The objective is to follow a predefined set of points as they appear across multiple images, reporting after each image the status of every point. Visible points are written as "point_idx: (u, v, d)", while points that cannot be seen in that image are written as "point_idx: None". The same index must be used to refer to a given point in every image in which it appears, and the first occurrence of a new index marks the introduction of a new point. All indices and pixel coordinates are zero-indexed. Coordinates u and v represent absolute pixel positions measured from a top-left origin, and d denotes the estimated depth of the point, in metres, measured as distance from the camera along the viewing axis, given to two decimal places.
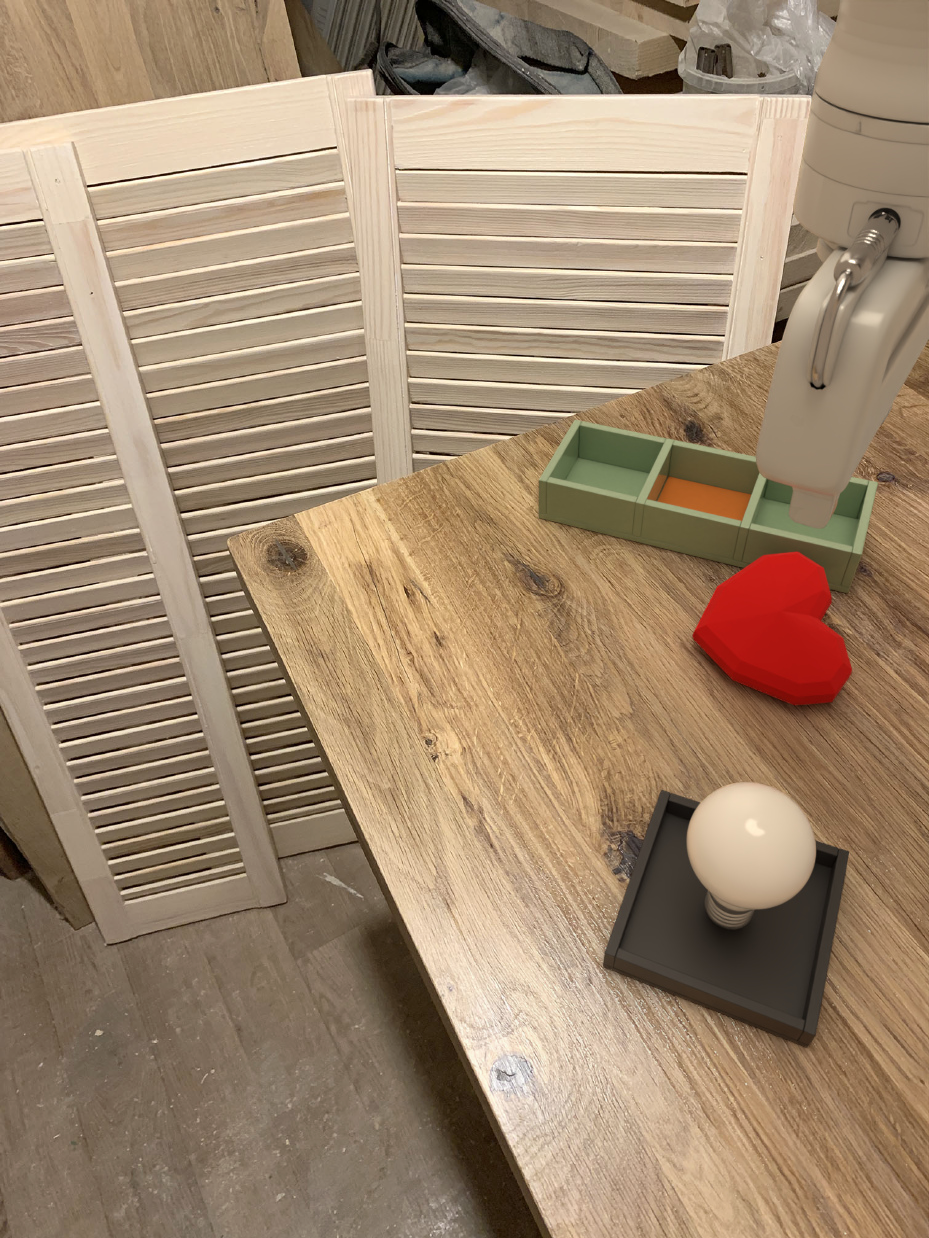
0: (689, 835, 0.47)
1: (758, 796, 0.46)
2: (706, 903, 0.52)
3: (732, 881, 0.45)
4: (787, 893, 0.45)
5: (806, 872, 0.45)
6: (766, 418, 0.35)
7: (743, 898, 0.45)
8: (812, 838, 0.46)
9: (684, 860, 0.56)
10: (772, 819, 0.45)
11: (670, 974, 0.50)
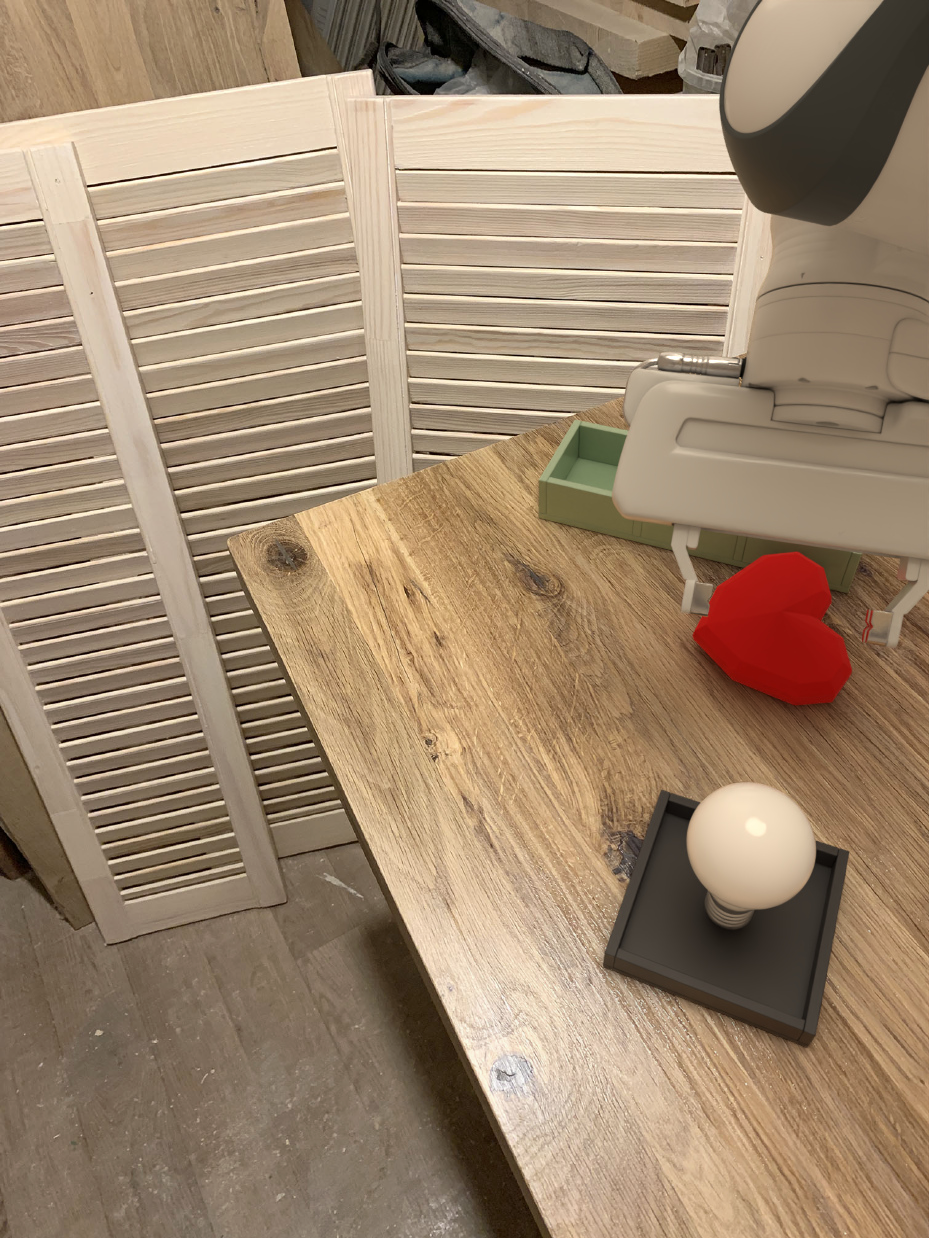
0: (689, 835, 0.47)
1: (758, 796, 0.46)
2: (706, 903, 0.52)
3: (732, 881, 0.45)
4: (786, 893, 0.45)
5: (806, 872, 0.45)
6: None
7: (743, 898, 0.45)
8: (812, 838, 0.46)
9: (684, 860, 0.56)
10: (772, 820, 0.45)
11: (670, 974, 0.50)
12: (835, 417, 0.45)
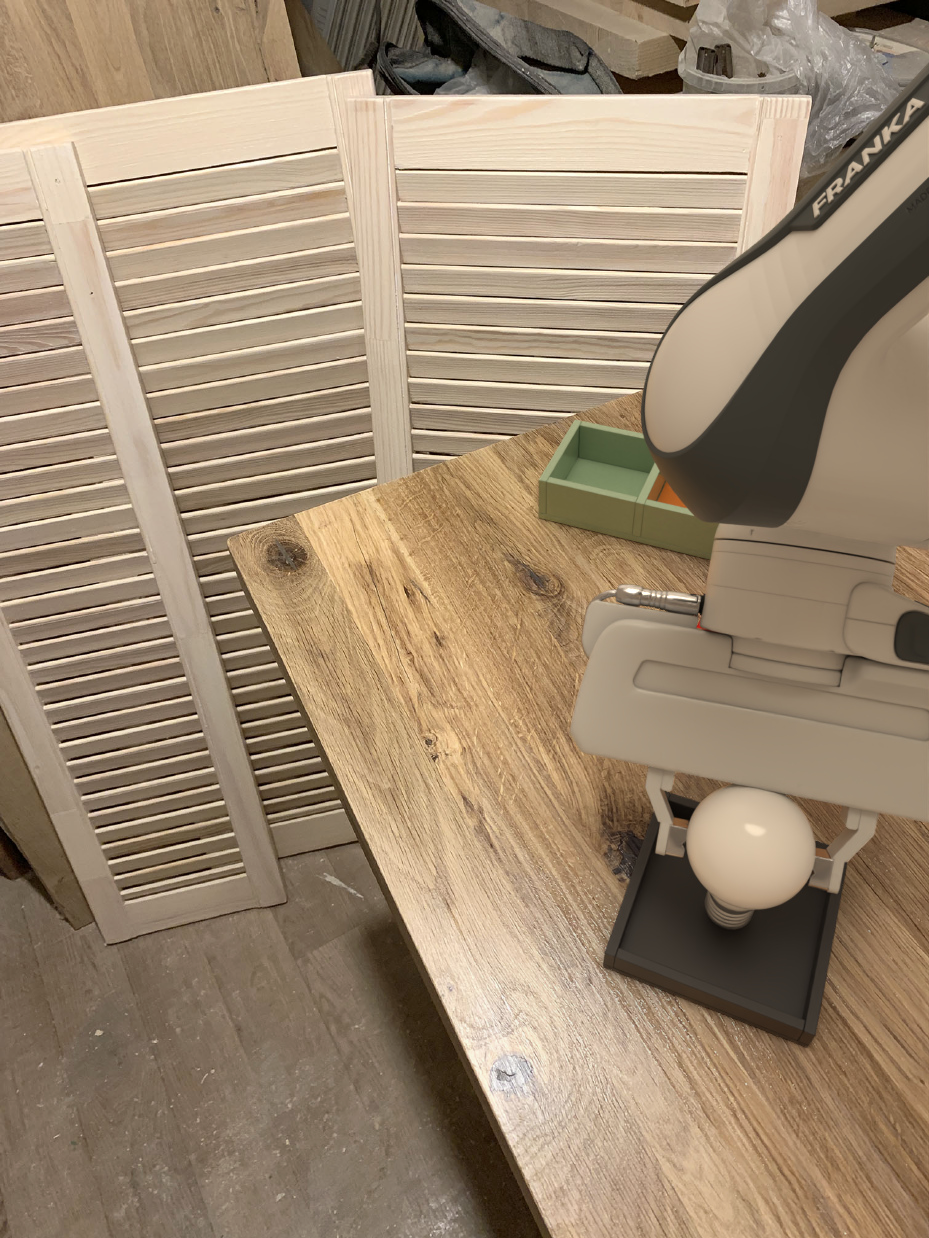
0: (689, 835, 0.47)
1: (757, 796, 0.46)
2: (706, 903, 0.52)
3: (731, 881, 0.45)
4: (786, 893, 0.45)
5: (806, 872, 0.45)
6: None
7: (742, 898, 0.45)
8: (812, 838, 0.46)
9: (684, 860, 0.56)
10: (771, 820, 0.45)
11: (670, 974, 0.50)
12: (792, 675, 0.45)
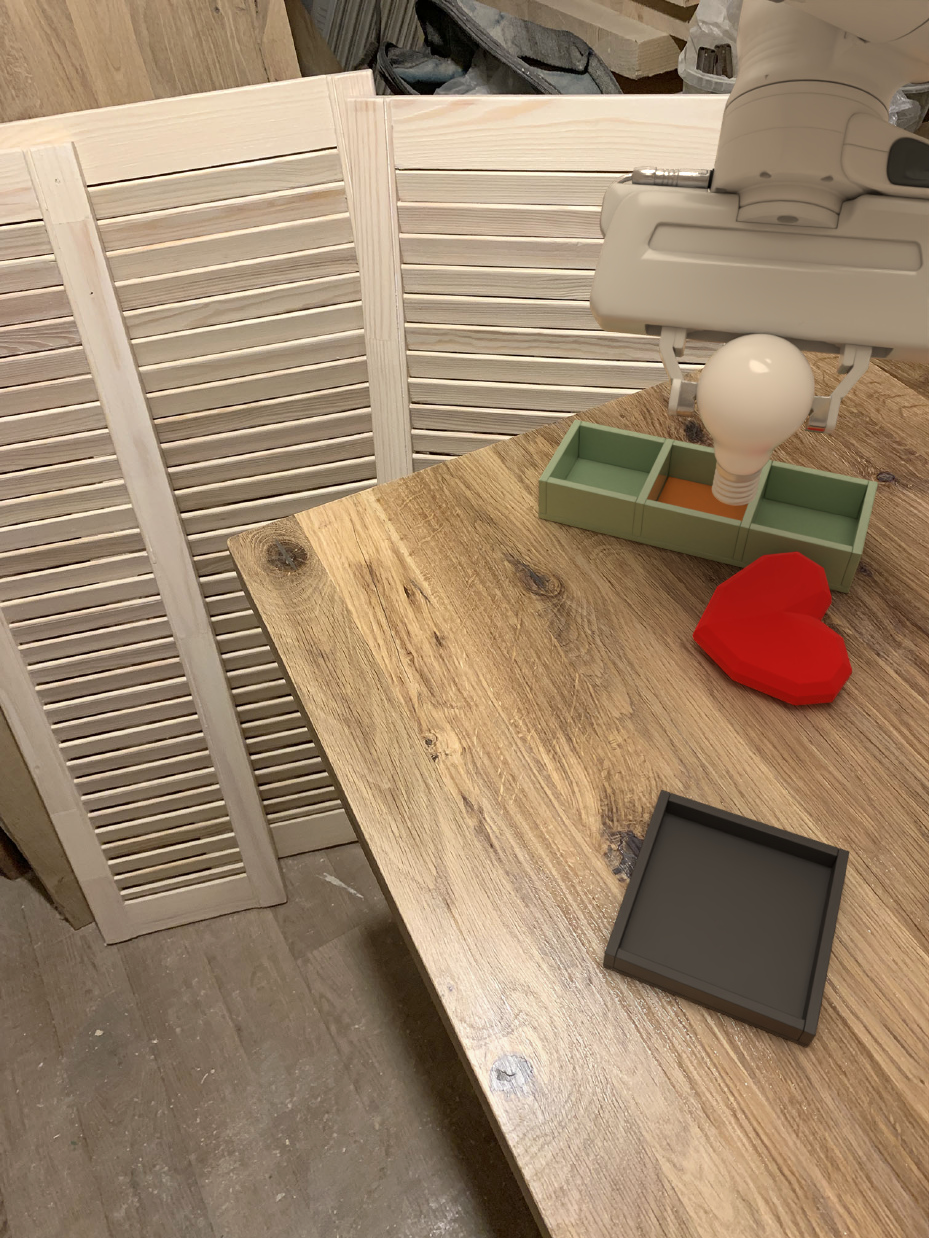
0: (699, 383, 0.52)
1: (762, 335, 0.50)
2: (713, 485, 0.57)
3: (738, 405, 0.50)
4: (788, 416, 0.50)
5: (806, 398, 0.50)
6: None
7: (748, 422, 0.50)
8: (811, 371, 0.50)
9: (684, 860, 0.56)
10: (775, 347, 0.49)
11: (670, 974, 0.50)
12: (794, 210, 0.49)
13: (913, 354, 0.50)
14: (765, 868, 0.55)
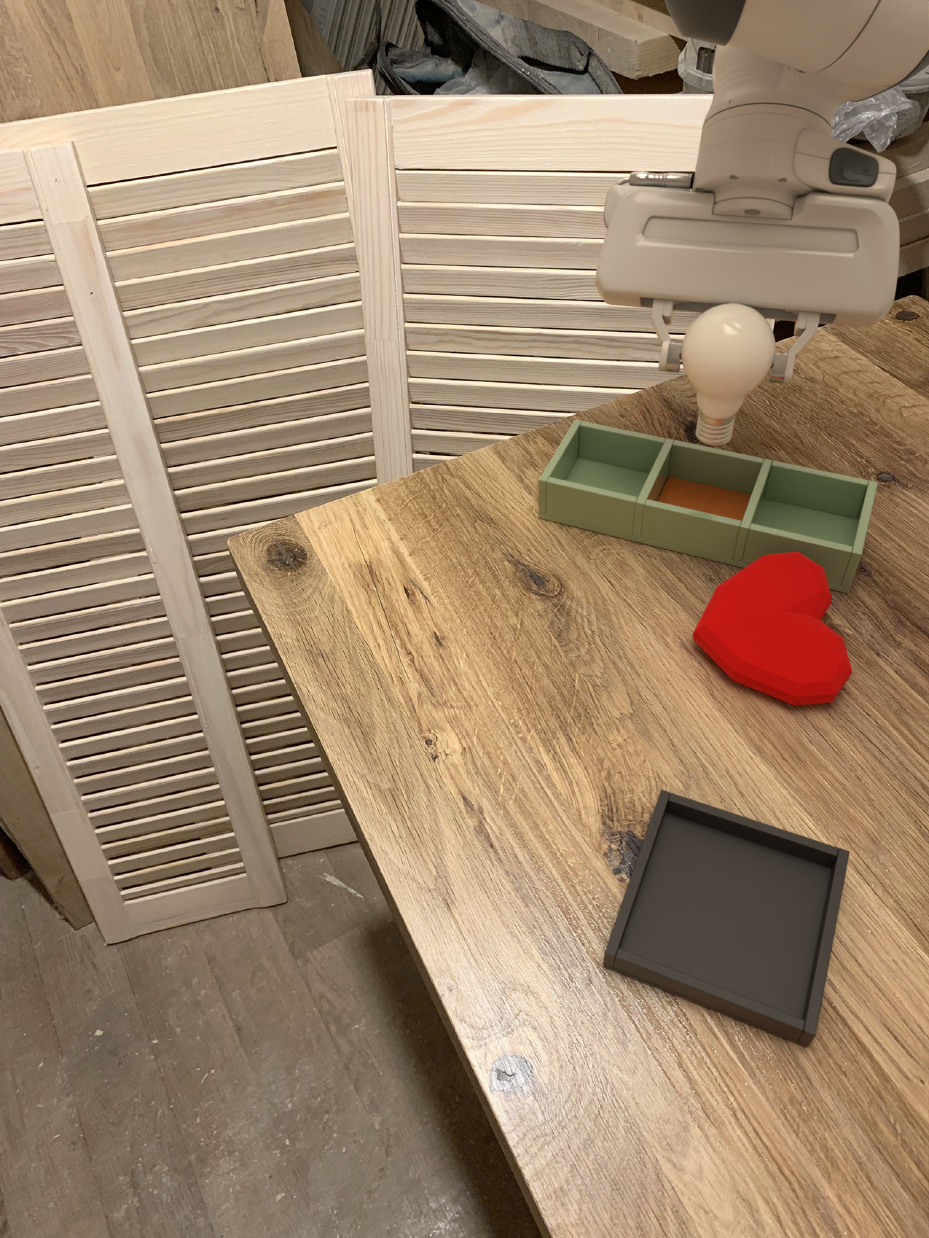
0: (683, 343, 0.65)
1: (733, 304, 0.63)
2: (696, 429, 0.70)
3: (713, 358, 0.63)
4: (753, 367, 0.63)
5: (767, 353, 0.63)
6: None
7: (721, 372, 0.63)
8: (772, 333, 0.63)
9: (684, 860, 0.56)
10: (742, 313, 0.62)
11: (670, 974, 0.50)
12: (757, 205, 0.62)
13: (853, 319, 0.63)
14: (765, 868, 0.55)
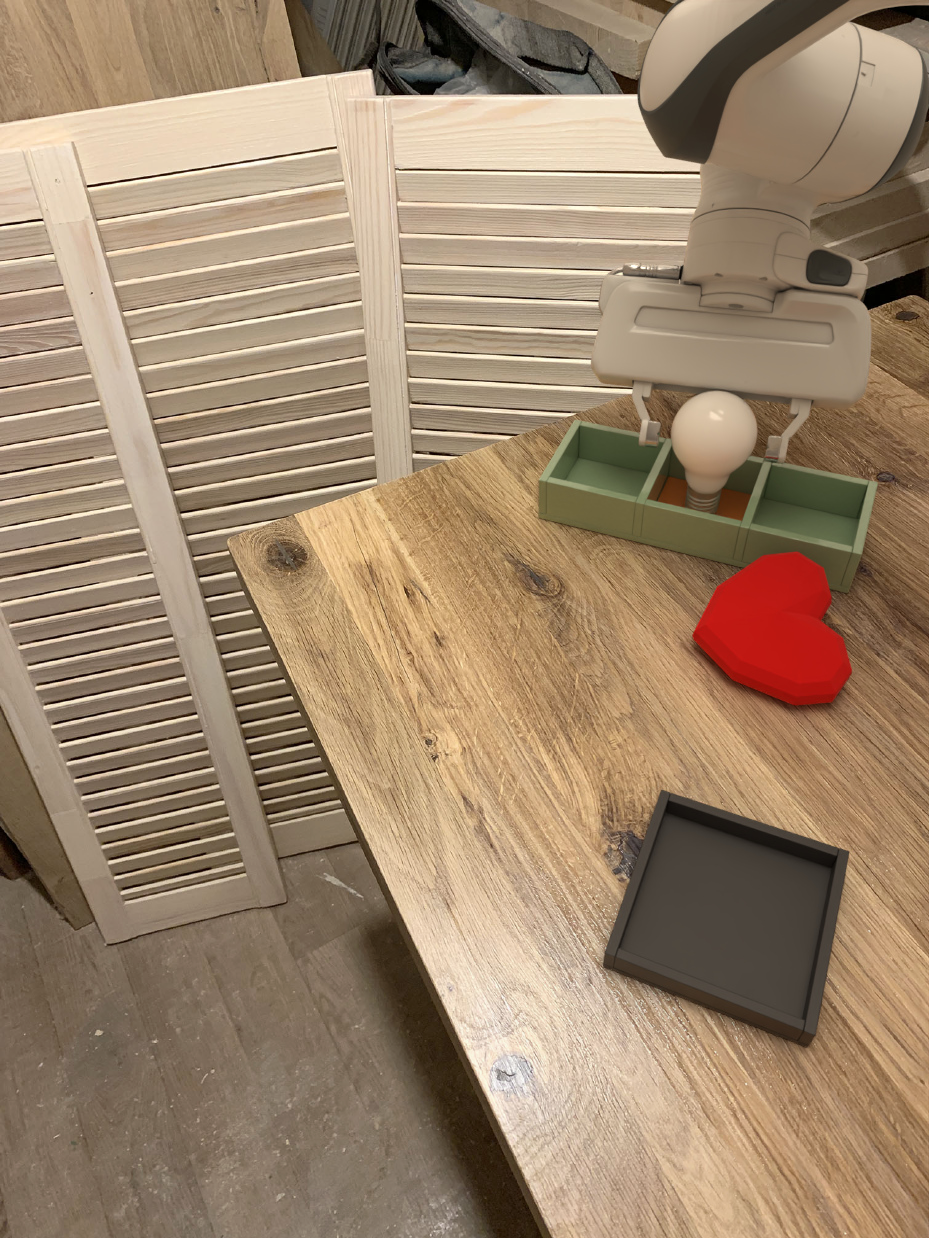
0: (672, 427, 0.70)
1: (718, 392, 0.69)
2: (685, 501, 0.75)
3: (700, 443, 0.68)
4: (737, 451, 0.68)
5: (750, 438, 0.68)
6: None
7: (708, 456, 0.68)
8: (754, 419, 0.68)
9: (684, 860, 0.56)
10: (727, 401, 0.68)
11: (670, 974, 0.50)
12: (740, 300, 0.67)
13: (829, 404, 0.68)
14: (765, 868, 0.55)
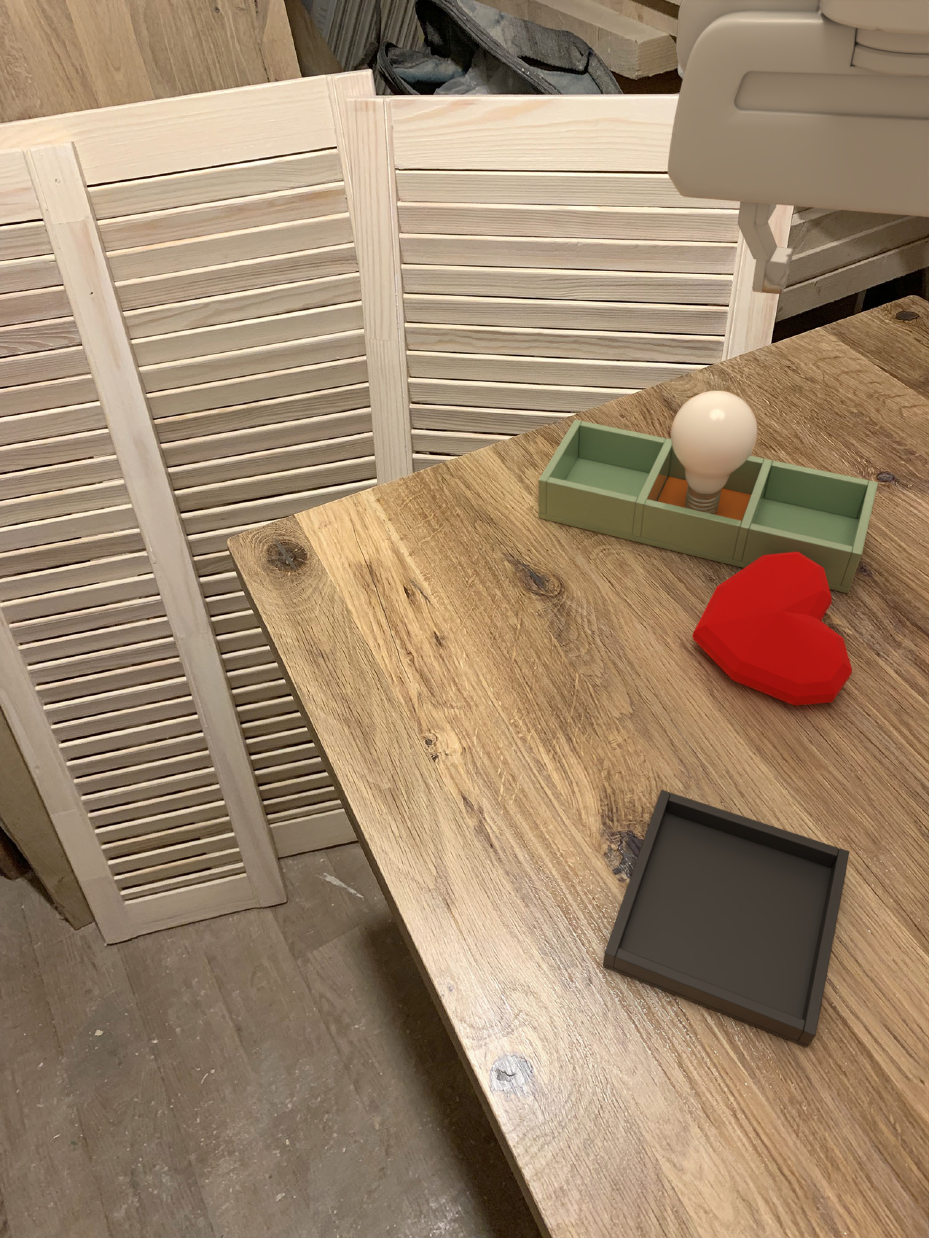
0: (672, 427, 0.70)
1: (718, 392, 0.69)
2: (685, 501, 0.75)
3: (700, 443, 0.68)
4: (737, 451, 0.68)
5: (750, 438, 0.68)
6: None
7: (708, 456, 0.68)
8: (754, 419, 0.68)
9: (684, 860, 0.56)
10: (727, 401, 0.68)
11: (670, 974, 0.50)
12: (925, 70, 0.36)
13: None
14: (765, 868, 0.55)
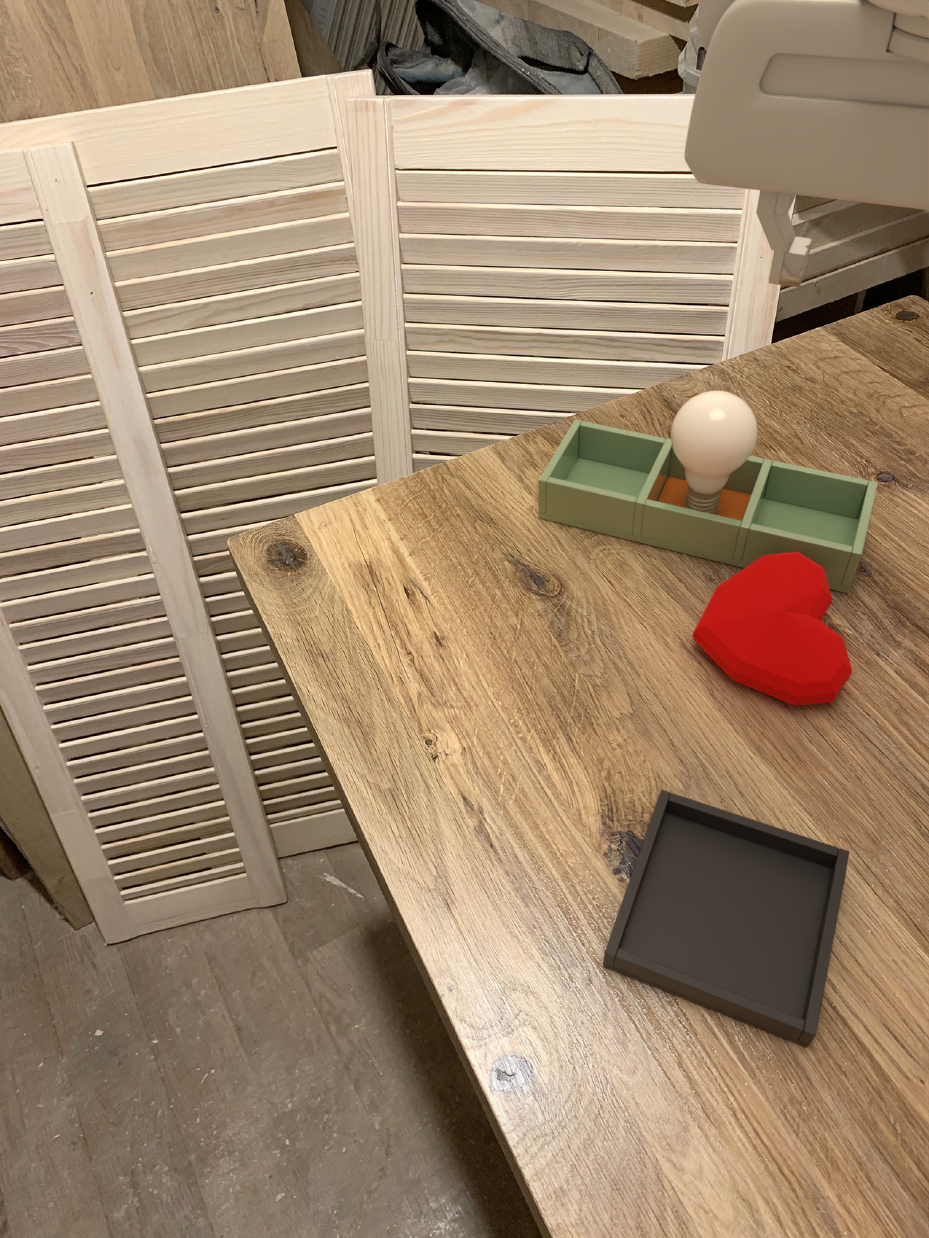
0: (672, 427, 0.70)
1: (718, 392, 0.69)
2: (685, 501, 0.75)
3: (700, 443, 0.68)
4: (737, 451, 0.68)
5: (750, 438, 0.68)
6: None
7: (708, 456, 0.68)
8: (754, 419, 0.68)
9: (684, 860, 0.56)
10: (727, 401, 0.68)
11: (670, 974, 0.50)
12: None
13: None
14: (765, 868, 0.55)
